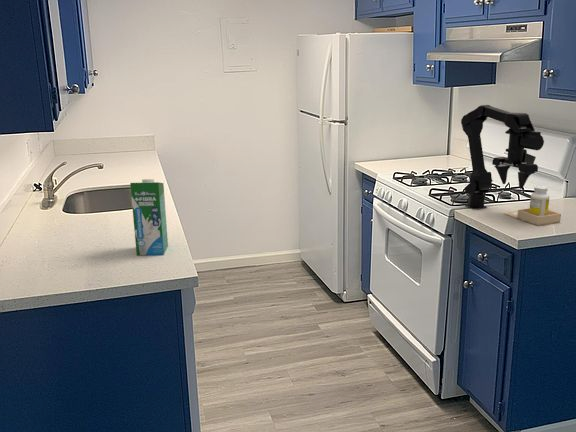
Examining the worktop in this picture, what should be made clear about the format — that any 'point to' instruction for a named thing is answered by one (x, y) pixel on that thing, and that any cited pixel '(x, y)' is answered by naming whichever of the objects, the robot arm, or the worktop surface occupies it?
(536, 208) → the supplement bottle
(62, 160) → the worktop surface
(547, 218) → the mailer box
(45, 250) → the worktop surface
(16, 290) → the worktop surface
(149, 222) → the milk carton
